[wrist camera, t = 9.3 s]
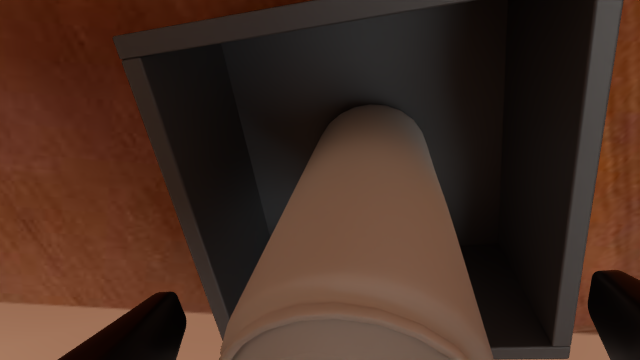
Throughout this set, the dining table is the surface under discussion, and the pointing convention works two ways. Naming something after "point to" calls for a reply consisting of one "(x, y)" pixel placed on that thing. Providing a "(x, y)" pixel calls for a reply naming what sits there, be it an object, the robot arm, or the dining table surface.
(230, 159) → the waste bin
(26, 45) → the dining table surface
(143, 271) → the dining table surface
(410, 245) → the beverage can
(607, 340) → the robot arm
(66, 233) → the dining table surface
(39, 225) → the dining table surface
